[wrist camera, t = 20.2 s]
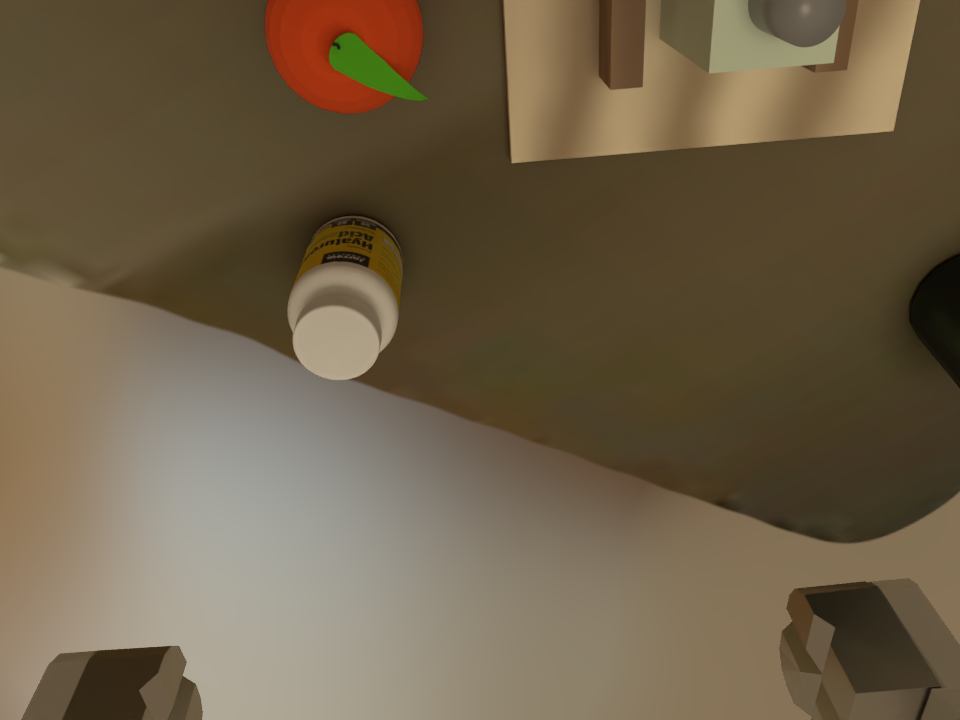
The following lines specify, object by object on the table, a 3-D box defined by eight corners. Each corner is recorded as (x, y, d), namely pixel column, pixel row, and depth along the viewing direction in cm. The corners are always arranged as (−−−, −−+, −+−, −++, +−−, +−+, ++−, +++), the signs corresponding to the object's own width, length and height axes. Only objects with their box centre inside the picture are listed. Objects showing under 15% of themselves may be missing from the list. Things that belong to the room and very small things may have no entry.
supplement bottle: (383, 199, 43) (372, 277, 34) (416, 285, 45) (413, 377, 37) (290, 228, 43) (256, 312, 35) (328, 311, 46) (306, 407, 38)
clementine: (470, 16, 38) (477, 42, 32) (392, 133, 41) (385, 178, 35) (325, -97, 35) (303, -91, 29) (252, 37, 38) (218, 68, 32)
